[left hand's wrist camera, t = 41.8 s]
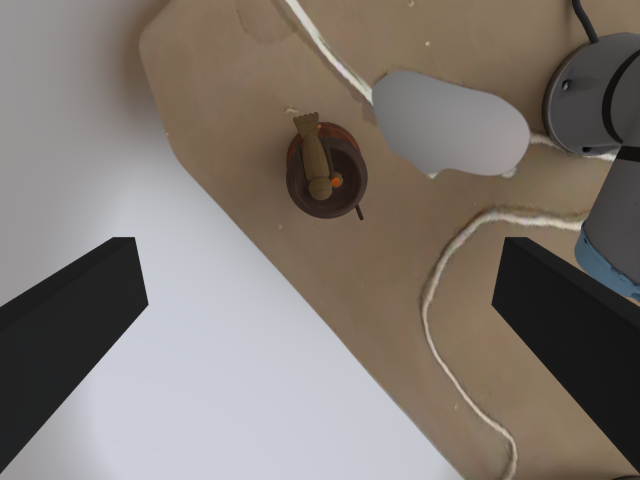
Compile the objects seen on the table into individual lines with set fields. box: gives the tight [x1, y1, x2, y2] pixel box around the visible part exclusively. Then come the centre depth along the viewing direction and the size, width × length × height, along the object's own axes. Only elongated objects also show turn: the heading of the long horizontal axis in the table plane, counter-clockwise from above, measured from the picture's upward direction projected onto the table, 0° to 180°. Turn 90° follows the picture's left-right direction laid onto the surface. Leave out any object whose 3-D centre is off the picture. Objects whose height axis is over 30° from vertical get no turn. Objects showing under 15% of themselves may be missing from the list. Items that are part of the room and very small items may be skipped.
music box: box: [286, 112, 367, 220], centre depth 42 cm, size 15×11×20 cm
